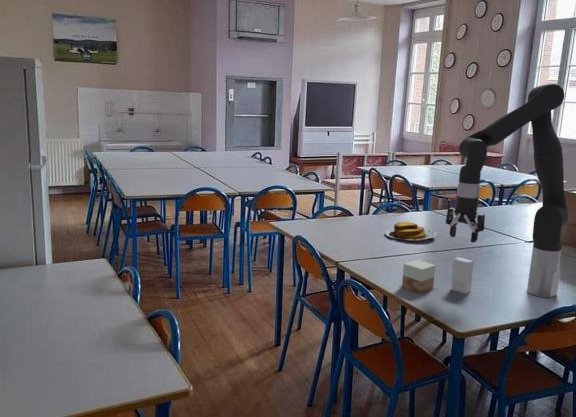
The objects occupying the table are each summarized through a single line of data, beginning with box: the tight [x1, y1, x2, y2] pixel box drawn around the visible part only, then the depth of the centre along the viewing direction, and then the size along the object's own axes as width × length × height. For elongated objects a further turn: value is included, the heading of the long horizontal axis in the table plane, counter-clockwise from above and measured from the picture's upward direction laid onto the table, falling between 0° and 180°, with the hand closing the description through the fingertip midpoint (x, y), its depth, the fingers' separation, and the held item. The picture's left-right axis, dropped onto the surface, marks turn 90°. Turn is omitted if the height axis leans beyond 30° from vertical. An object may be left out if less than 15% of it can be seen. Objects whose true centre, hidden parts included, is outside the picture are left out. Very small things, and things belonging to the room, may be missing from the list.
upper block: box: [402, 259, 436, 281], centre depth 195 cm, size 8×8×4 cm
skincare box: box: [450, 256, 474, 295], centre depth 194 cm, size 6×4×12 cm
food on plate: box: [384, 221, 437, 244], centre depth 269 cm, size 25×25×7 cm
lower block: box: [401, 275, 435, 293], centre depth 196 cm, size 8×8×4 cm
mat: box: [398, 285, 437, 296], centre depth 196 cm, size 10×10×1 cm
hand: (462, 239), depth 193 cm, fingers open, 8 cm apart
